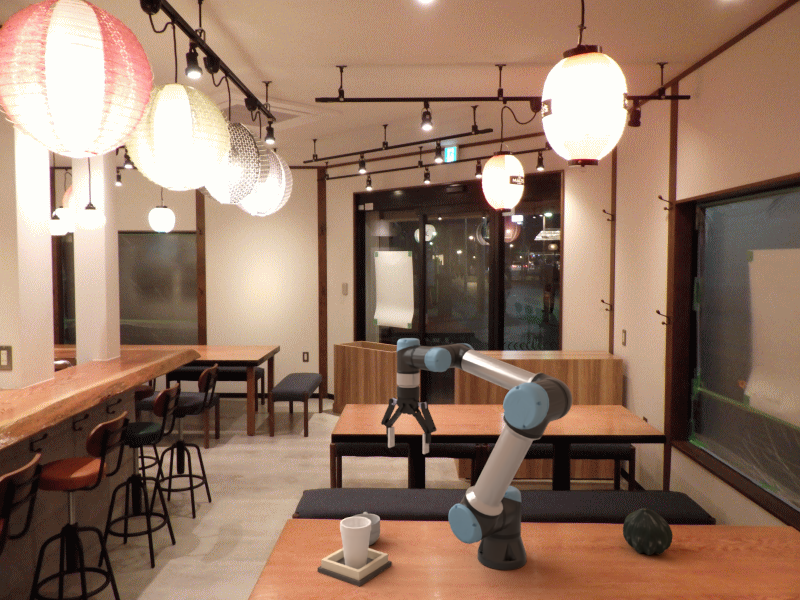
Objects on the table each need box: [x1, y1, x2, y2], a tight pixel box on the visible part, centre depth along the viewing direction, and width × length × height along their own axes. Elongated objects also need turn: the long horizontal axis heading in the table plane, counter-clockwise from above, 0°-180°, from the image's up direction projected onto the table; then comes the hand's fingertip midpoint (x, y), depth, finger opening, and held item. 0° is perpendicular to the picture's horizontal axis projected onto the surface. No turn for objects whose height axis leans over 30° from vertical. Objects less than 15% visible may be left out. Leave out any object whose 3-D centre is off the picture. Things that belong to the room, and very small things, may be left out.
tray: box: [317, 547, 393, 587], centre depth 189 cm, size 16×16×4 cm
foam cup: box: [339, 516, 371, 569], centre depth 189 cm, size 10×9×13 cm
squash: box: [622, 507, 674, 556], centre depth 202 cm, size 14×15×15 cm
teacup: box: [351, 511, 381, 546], centre depth 209 cm, size 14×11×8 cm
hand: (408, 449), depth 205 cm, fingers open, 13 cm apart
